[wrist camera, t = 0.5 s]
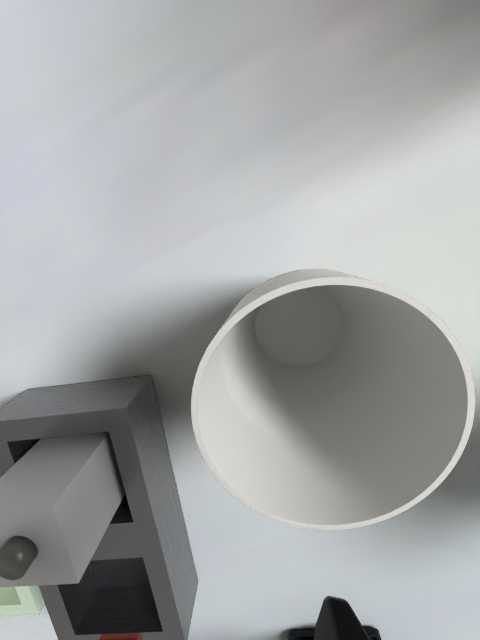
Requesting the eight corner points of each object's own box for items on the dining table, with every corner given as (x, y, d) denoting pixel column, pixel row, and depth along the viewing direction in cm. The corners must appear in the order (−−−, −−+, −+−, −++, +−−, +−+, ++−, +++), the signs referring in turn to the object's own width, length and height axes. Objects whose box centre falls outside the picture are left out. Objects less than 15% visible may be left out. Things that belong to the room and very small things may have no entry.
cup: (219, 381, 21) (182, 511, 11) (233, 243, 19) (201, 261, 9) (356, 398, 21) (435, 546, 11) (385, 259, 19) (513, 295, 9)
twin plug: (135, 473, 22) (68, 602, 14) (75, 478, 22) (-21, 606, 15) (120, 416, 21) (40, 522, 14) (57, 422, 21) (-55, 529, 14)
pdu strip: (198, 581, 25) (185, 651, 21) (92, 587, 26) (59, 655, 22) (151, 374, 21) (123, 410, 17) (28, 388, 22) (-27, 426, 18)
